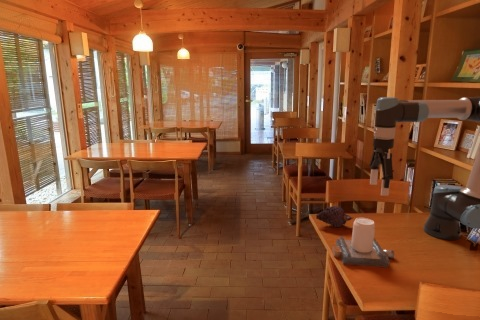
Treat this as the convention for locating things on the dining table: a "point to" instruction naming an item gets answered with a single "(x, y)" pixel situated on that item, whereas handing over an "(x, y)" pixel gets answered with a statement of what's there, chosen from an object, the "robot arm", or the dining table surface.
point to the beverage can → (363, 235)
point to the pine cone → (333, 216)
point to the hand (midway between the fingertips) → (378, 189)
